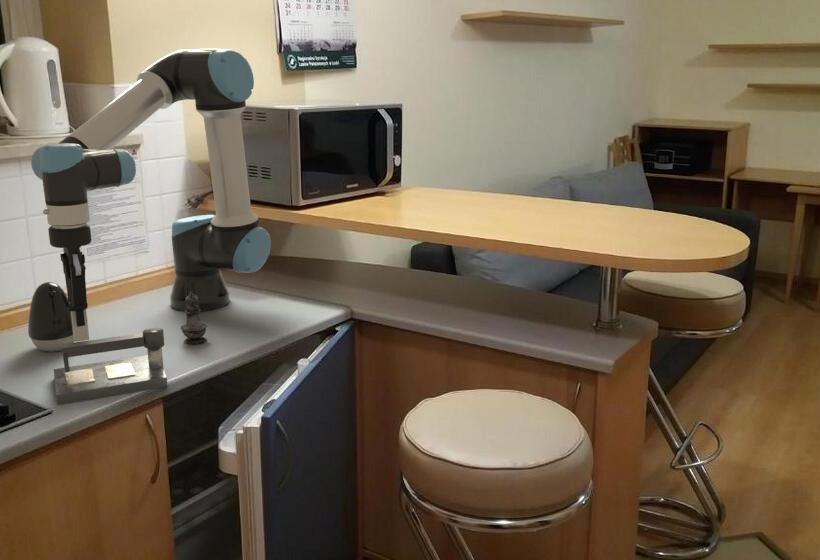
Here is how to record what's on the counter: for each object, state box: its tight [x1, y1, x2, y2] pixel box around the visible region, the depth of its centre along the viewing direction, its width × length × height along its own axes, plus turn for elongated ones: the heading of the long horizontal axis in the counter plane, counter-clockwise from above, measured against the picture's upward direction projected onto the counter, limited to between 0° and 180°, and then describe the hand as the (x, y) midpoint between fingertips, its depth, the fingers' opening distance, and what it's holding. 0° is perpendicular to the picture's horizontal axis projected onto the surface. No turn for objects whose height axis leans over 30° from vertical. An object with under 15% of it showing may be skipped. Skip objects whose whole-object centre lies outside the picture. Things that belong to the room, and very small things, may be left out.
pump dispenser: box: [27, 281, 75, 353], centre depth 175 cm, size 10×10×15 cm
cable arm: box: [61, 327, 165, 372], centre depth 157 cm, size 19×4×6 cm, turn 116°
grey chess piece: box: [180, 291, 208, 346], centre depth 179 cm, size 6×6×12 cm
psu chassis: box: [53, 346, 169, 406], centre depth 157 cm, size 20×14×6 cm
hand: (81, 339), depth 159 cm, fingers closed
